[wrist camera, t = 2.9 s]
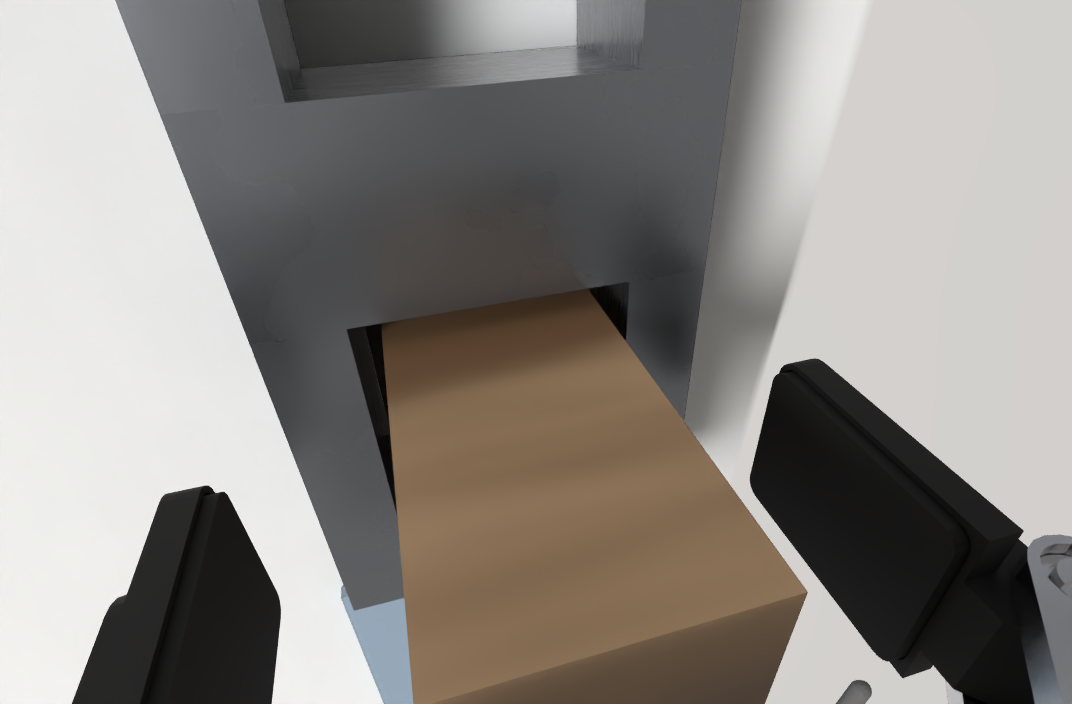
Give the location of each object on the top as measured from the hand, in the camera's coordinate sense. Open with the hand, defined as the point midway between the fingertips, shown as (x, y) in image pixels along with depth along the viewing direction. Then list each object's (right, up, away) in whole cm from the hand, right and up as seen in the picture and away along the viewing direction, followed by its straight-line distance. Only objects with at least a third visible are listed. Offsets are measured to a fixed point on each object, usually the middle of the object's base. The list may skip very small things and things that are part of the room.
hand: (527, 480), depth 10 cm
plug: (-1, +3, +4) cm, 5 cm away
